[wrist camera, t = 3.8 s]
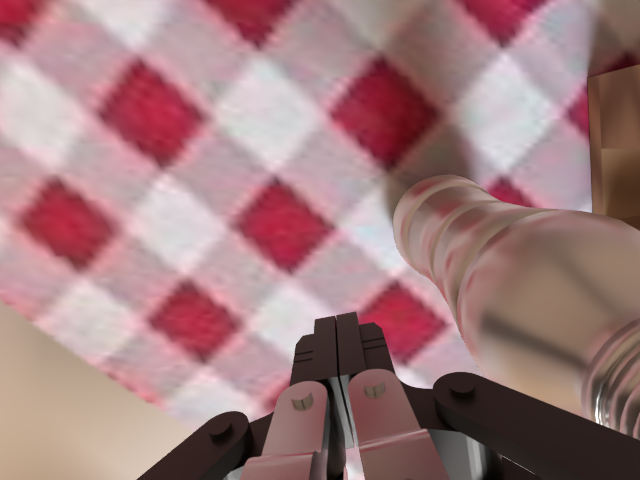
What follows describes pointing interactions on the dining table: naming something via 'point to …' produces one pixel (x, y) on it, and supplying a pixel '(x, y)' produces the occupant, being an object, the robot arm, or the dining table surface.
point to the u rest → (615, 144)
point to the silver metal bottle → (534, 294)
